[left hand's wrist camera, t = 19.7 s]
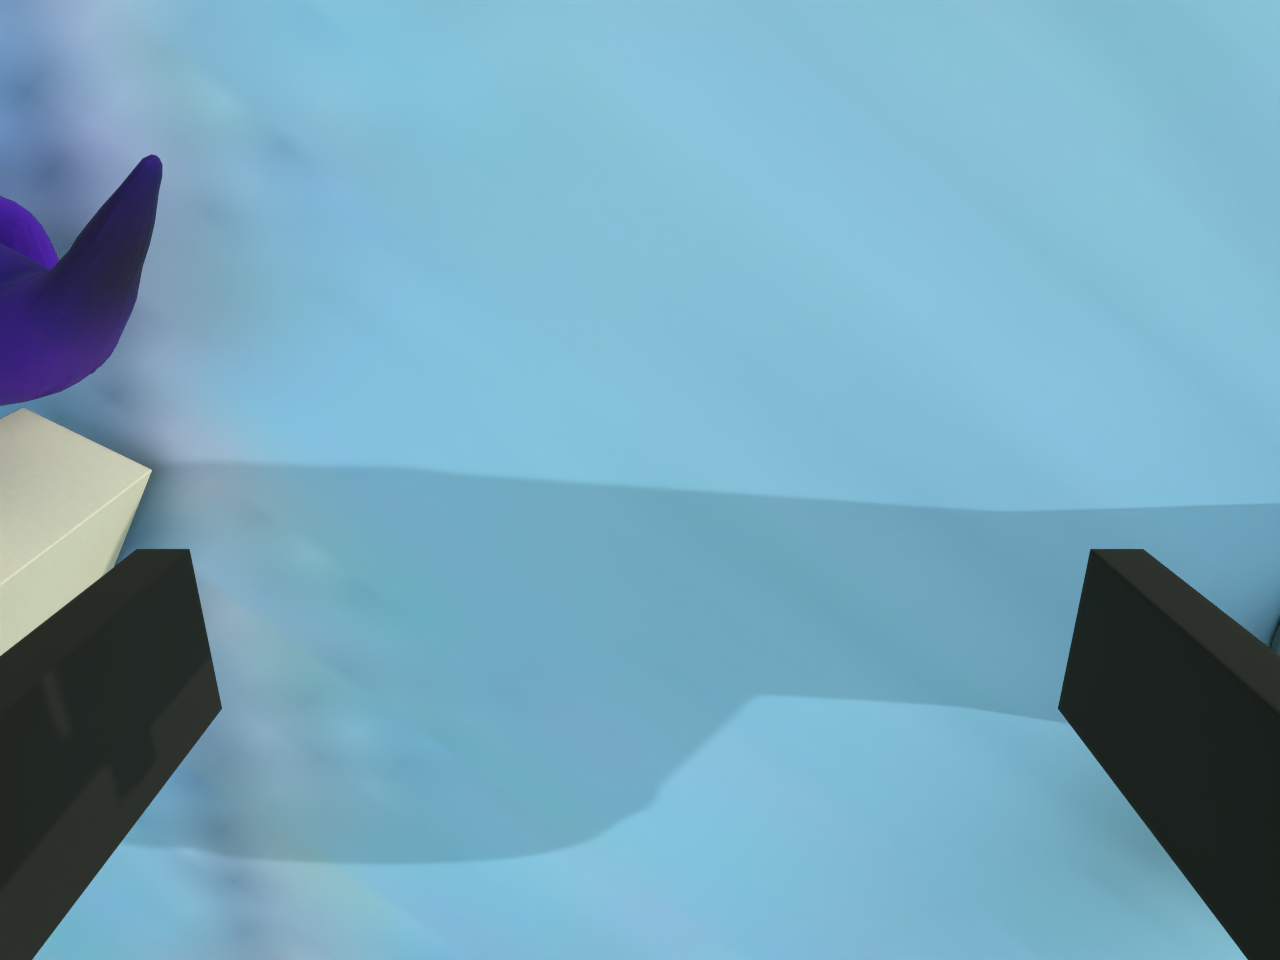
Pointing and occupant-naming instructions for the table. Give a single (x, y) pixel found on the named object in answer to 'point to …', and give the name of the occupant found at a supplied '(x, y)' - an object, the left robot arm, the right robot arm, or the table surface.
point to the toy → (71, 289)
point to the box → (57, 517)
